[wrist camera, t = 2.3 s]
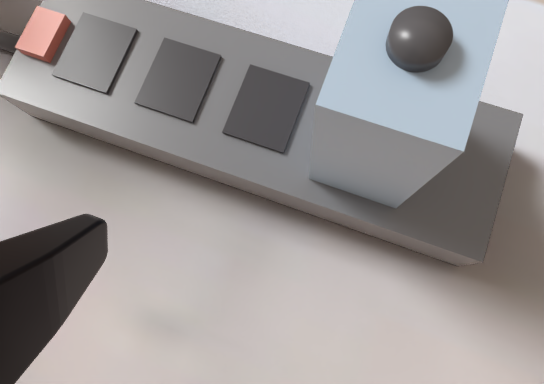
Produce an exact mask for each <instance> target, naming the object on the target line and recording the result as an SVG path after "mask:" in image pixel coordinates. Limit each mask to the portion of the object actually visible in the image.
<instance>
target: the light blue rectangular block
mask: <svg viewBox="0 0 544 384" xmlns="http://www.w3.org/2000/svg"><path fill="white" fill-rule="evenodd" d="M508 1H509V0H354V3H353V5H352V8H351V11H350V13H349V16H348V19H347V21H346V24H345V27H344V29H343V32H342V35H341V37H340V40H339V43H338V45H337V48H336V51H335V54H334V56H333V59H332V62H331V64H330V67H329V70H328V72H327V75H326V78H325V80H324V83H323V86H322V88H321V91H320V94H319V96H318V99H317V102H316V104H315V115H314V126H313V137H312V148H311V159H310V170H309V179H311V180H314V181H317V182H320V183H323V184H326V185H329V186H331V187H334V188H337V189H340V190H343V191H346V192H349V193H352V194H355V195H358V196H361V197H364V198H367V199H369V200H372V201H375V202H378V203H381V204H384V205H387V206H390V207H393V208H397V207H398V206H399V205H401V204H402V203H403V202H404V201H405V200H407V199H408V198H409V197H410V196H411V195H413V194H414V193H415V192H416V191H417V190H419V189H420V188H421V187H422V186H423V185H425V184H426V183H427V182H428V181H429V180H431V179H432V178H433V177H434V176H435V175H437V174H438V173H439V172H440V171H441V170H443V169H444V168H445V167H446V166H447V165H449V164H450V163H451V162H452V161H453V160H455V159H456V158H457V157H458V156H459V155H461V154H462V153H463V152H464V150H465V147H466V143H467V140H468V136H469V133H470V130H471V126H472V123H473V119H474V116H475V113H476V109H477V106H478V102H479V99H480V96H481V92H482V89H483V86H484V82H485V79H486V75H487V72H488V69H489V65H490V62H491V58H492V55H493V52H494V48H495V45H496V41H497V38H498V35H499V31H500V28H501V25H502V21H503V18H504V14H505V11H506V8H507V4H508Z"/></svg>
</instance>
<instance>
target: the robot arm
mask: <svg viewBox="0 0 544 384" xmlns="http://www.w3.org/2000/svg"><path fill="white" fill-rule="evenodd" d="M107 252H108V242H107V224H106V222H105V220H103V219H101V218H98V217H95V216H92V215H90V214H83V215H79V216H76V217H73V218H70V219H67V220H64V221H61V222H58V223H55V224H52V225H49V226H46V227H43V228H40V229H37V230H34V231H31V232H28V233H25V234H22V235H19V236H15V237H12V238H9V239H6V240H3V241H0V384H15V383H16V381H17V380H18V379H19V378H20V376H21V375H22V374H23V373H24V372H25V370H26V369H27V368H28V367H29V366H30V364H31V363H32V362H33V361H34V359H35V358H36V357H37V356H38V355H39V353H40V352H41V351H42V350H43V348H44V347H45V346H46V345H47V344H48V342H49V341H50V340H51V339H52V338H53V336H54V335H55V334H56V332H57V331H58V330H59V329H60V327H61V326H62V325H63V323H64V322H65V320H66V319H67V317H68V316H69V315H70V313H71V312H72V310H73V308H74V307H75V305H76V304H77V302H78V301H79V299H80V298H81V296H82V295H83V293H84V292H85V290H86V289H87V287H88V286H89V284H90V283H91V281H92V280H93V278H94V277H95V275H96V274H97V272H98V271H99V269H100V268H101V266H102V265H103V263H104V261H105V259H106V256H107Z"/></svg>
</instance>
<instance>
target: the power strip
mask: <svg viewBox="0 0 544 384" xmlns="http://www.w3.org/2000/svg"><path fill="white" fill-rule="evenodd" d="M0 49H3V50H6V51H9V52H12V53H14V55H13V57H12V59H11V61H10V63H9V65H8V66H7V68H6V70H5V72H4V74H3V76H2V78H1V80H0V96H1V97H3V98H4V99H6V100H8V101H9V102H11V103H12V104H14V105H15V106H17V107H18V108H20V109H21V110H23V111H24V112H26V113H28V114H29V115H31V116H33V117H36V118H39V119H42V120H45V121H48V122H50V123H53V124H56V125H59V126H62V127H65V128H67V129H70V130H73V131H76V132H79V133H82V134H84V135H87V136H90V137H93V138H96V139H99V140H101V141H104V142H107V143H110V144H113V145H116V146H118V147H121V148H124V149H127V150H130V151H133V152H135V153H138V154H141V155H144V156H147V157H150V158H152V159H155V160H158V161H161V162H164V163H167V164H169V165H172V166H175V167H178V168H181V169H184V170H186V171H189V172H192V173H195V174H198V175H201V176H203V177H206V178H209V179H212V180H215V181H218V182H220V183H223V184H226V185H229V186H232V187H235V188H237V189H240V190H243V191H246V192H249V193H251V194H254V195H257V196H260V197H263V198H266V199H268V200H271V201H274V202H277V203H280V204H283V205H285V206H288V207H291V208H294V209H297V210H300V211H302V212H305V213H308V214H311V215H314V216H317V217H319V218H322V219H325V220H328V221H331V222H334V223H336V224H339V225H342V226H345V227H348V228H351V229H353V230H356V231H359V232H362V233H365V234H368V235H370V236H373V237H376V238H379V239H382V240H385V241H387V242H390V243H393V244H396V245H399V246H402V247H404V248H407V249H410V250H413V251H416V252H419V253H421V254H424V255H427V256H430V257H433V258H436V259H438V260H441V261H444V262H447V263H450V264H453V265H455V266H462V265H469V264H476V263H483V261H484V257H485V253H486V250H487V246H488V242H489V239H490V235H491V231H492V228H493V224H494V220H495V216H496V213H497V209H498V205H499V202H500V198H501V194H502V191H503V187H504V183H505V180H506V176H507V172H508V169H509V165H510V161H511V158H512V154H513V150H514V147H515V143H516V139H517V136H518V132H519V128H520V124H521V121H522V117H523V114H521V113H518V112H514V111H511V110H508V109H504V108H501V107H498V106H494V105H491V104H488V103H484V102H481V101H479V102H478V106H477V109H476V113H475V116H474V119H473V123H472V126H471V130H470V133H469V136H468V140H467V143H466V147H465V150H464V152H463V153H462V154H461V155H459V156H458V157H457V158H456V159H455V160H453V161H452V162H451V163H450V164H449V165H447V166H446V167H445V168H444V169H443V170H441V171H440V172H439V173H438V174H437V175H435V176H434V177H433V178H432V179H431V180H429V181H428V182H427V183H426V184H425V185H423V186H422V187H421V188H420V189H419V190H417V191H416V192H415V193H414V194H413V195H411V196H410V197H409V198H408V199H407V200H405V201H404V202H403V203H402V204H401V205H399V206H398V207H397V208H393V207H390V206H387V205H384V204H381V203H378V202H375V201H372V200H369V199H367V198H364V197H361V196H358V195H355V194H352V193H349V192H346V191H343V190H340V189H337V188H334V187H331V186H329V185H326V184H323V183H320V182H317V181H314V180H311V179H309V170H310V159H311V148H312V137H313V126H314V115H315V104H316V102H317V99H318V96H319V94H320V91H321V88H322V86H323V83H324V80H325V78H326V75H327V72H328V70H329V67H330V64H331V62H332V59H333V57H332V56H328V55H325V54H322V53H318V52H315V51H312V50H308V49H305V48H302V47H298V46H295V45H292V44H288V43H285V42H282V41H278V40H275V39H272V38H268V37H265V36H262V35H258V34H255V33H252V32H249V31H245V30H242V29H239V28H235V27H232V26H229V25H225V24H222V23H219V22H215V21H212V20H209V19H205V18H202V17H199V16H195V15H192V14H189V13H185V12H182V11H179V10H175V9H172V8H169V7H165V6H162V5H159V4H155V3H152V2H149V1H146V0H43V1H42V3H41V4H40V6H36V8H35V10H34V12H33V14H32V16H31V18H30V20H29V21H28V23H27V25H26V27H25V29H24V31H23V33H22V35H21V36H17V35H14V34H11V33H8V32H5V31H2V30H0Z"/></svg>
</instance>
